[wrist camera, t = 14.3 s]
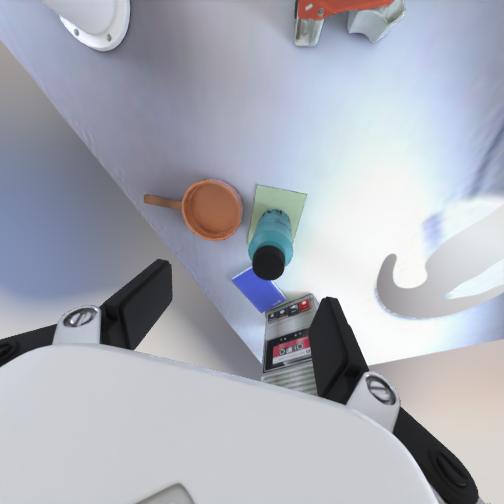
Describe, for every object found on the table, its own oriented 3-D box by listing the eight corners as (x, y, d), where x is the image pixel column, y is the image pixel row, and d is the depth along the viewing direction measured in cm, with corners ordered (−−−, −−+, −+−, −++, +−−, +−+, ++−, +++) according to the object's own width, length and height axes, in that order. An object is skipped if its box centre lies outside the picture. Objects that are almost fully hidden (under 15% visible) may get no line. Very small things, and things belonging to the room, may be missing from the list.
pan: (189, 229, 44) (181, 234, 41) (189, 173, 38) (181, 174, 35) (239, 239, 43) (236, 246, 40) (247, 185, 38) (244, 187, 34)
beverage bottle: (282, 239, 41) (283, 298, 23) (254, 228, 41) (233, 279, 23) (295, 212, 38) (307, 256, 20) (265, 200, 38) (251, 234, 20)
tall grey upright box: (311, 292, 46) (339, 412, 24) (322, 309, 48) (357, 435, 26) (264, 311, 51) (252, 426, 29) (276, 326, 53) (272, 444, 31)
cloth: (247, 243, 43) (247, 243, 43) (257, 184, 37) (257, 184, 37) (290, 252, 43) (290, 252, 42) (306, 194, 37) (306, 194, 37)
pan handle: (148, 201, 40) (144, 202, 39) (147, 194, 39) (143, 194, 38) (185, 209, 39) (182, 210, 38) (185, 201, 39) (182, 202, 38)
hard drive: (286, 301, 47) (256, 265, 44) (260, 313, 50) (230, 280, 47) (286, 297, 48) (257, 261, 45) (261, 309, 51) (232, 277, 48)
